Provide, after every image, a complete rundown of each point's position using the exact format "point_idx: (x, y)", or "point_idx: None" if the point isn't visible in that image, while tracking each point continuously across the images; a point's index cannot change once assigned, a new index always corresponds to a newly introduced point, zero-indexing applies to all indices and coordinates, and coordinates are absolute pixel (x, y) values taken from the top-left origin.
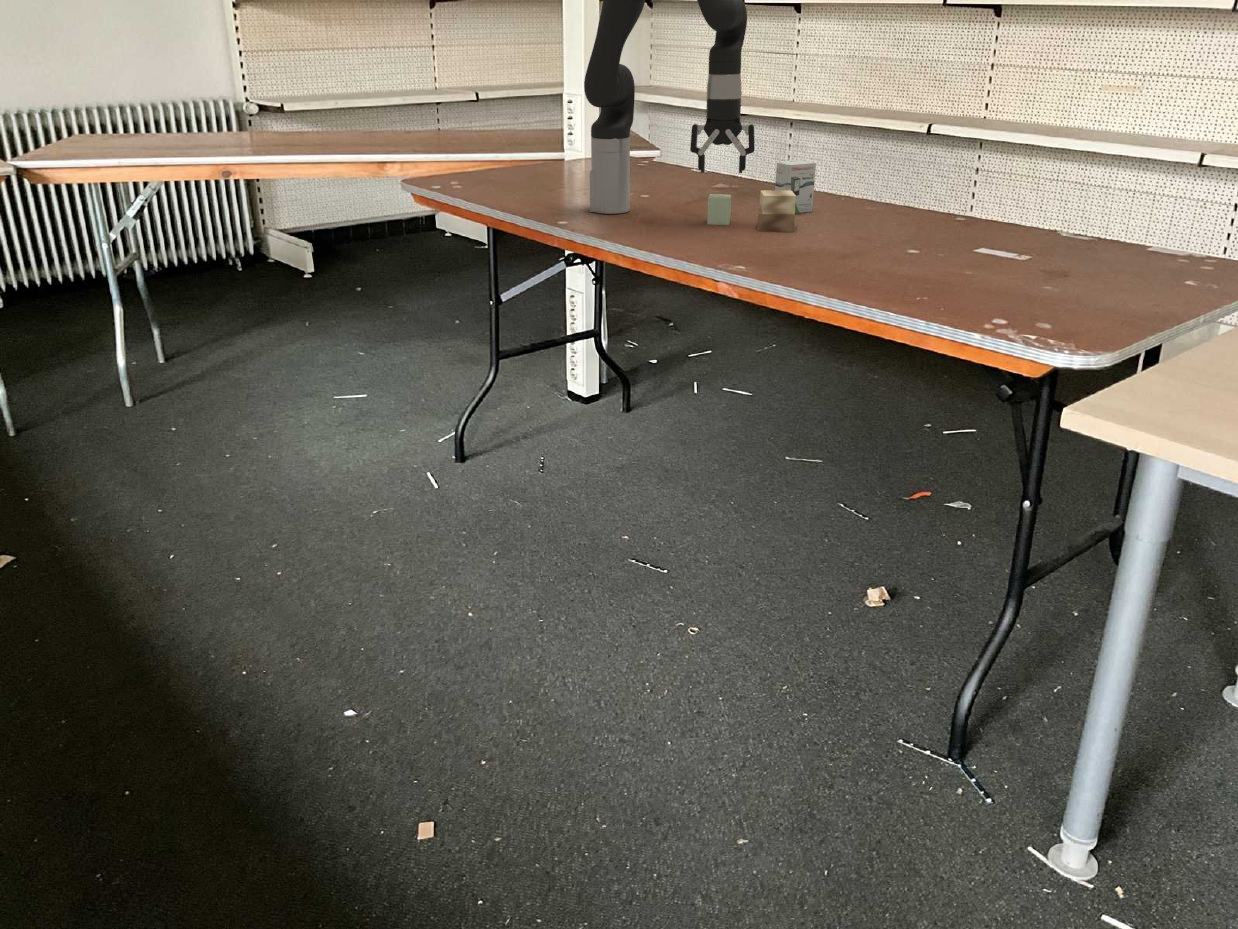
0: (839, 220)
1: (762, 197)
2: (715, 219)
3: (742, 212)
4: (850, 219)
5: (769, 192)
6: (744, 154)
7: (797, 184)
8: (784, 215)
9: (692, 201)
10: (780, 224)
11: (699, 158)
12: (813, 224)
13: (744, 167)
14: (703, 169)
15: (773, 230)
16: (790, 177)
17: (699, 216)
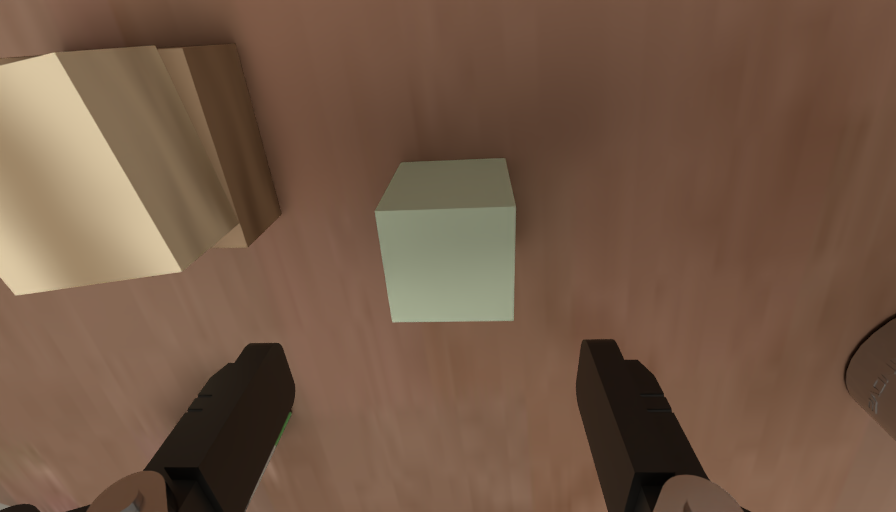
0: (27, 318)
1: (125, 133)
2: (465, 166)
3: (391, 391)
4: (5, 338)
5: (94, 205)
6: (120, 483)
7: None
8: (37, 56)
9: (575, 507)
10: None
11: (679, 454)
12: None
13: (214, 382)
14: (595, 353)
15: None
16: None
17: (547, 309)
